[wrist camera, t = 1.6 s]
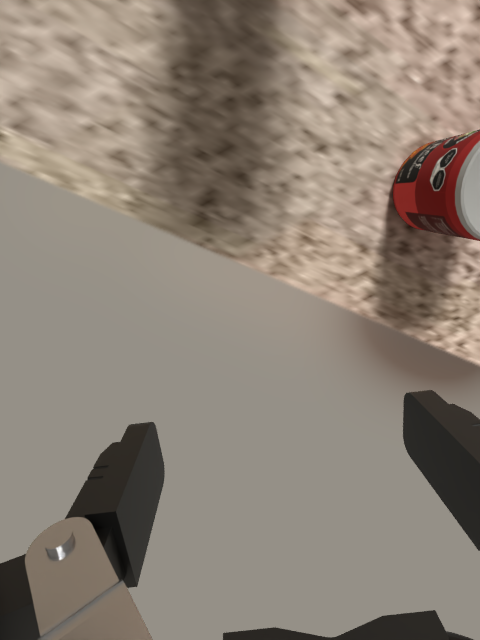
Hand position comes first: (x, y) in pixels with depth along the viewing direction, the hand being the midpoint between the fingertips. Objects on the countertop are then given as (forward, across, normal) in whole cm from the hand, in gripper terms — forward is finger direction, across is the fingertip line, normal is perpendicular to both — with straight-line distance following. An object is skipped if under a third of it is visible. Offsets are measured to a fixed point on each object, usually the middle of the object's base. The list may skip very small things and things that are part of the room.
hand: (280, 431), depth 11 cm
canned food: (+27, -19, -7) cm, 33 cm away
